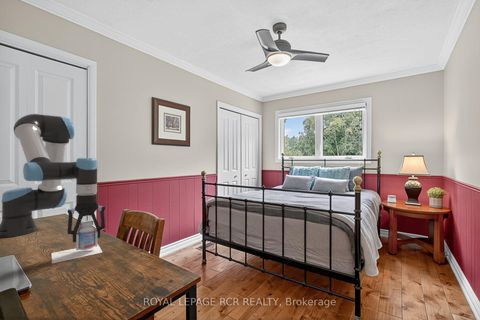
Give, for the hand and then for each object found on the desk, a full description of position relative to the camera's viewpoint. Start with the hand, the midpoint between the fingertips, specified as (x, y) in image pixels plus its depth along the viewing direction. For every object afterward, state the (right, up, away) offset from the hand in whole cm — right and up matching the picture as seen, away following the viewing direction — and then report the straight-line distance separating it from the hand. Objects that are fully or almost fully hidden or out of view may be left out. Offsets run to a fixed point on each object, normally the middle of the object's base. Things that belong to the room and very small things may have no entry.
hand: (86, 247), depth 102 cm
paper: (-3, -2, -1) cm, 4 cm away
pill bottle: (0, -1, 0) cm, 1 cm away
